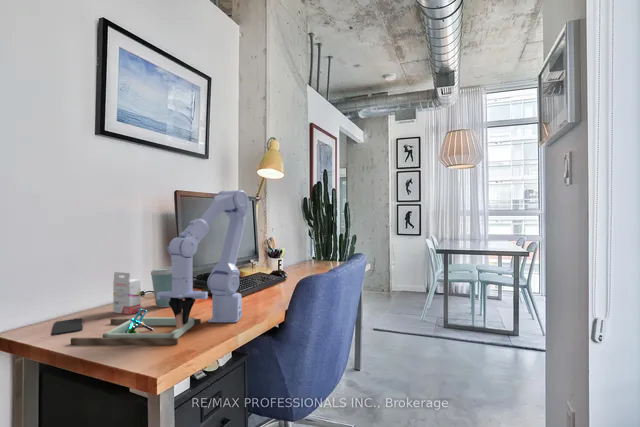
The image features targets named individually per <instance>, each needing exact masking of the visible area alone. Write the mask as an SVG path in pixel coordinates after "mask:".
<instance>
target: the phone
mask: <svg viewBox="0 0 640 427" xmlns="http://www.w3.org/2000/svg"><path fill="white" fill-rule="evenodd" d="M83 328H84V326H83V318H82V317H80V318H79V317H78V318H71V319H64V320H57V321H55V322H54V325H53V329H52V333H51V334H52V335H53V336H58V335H59V336H60V335H66V334H72V333H73V334H74V333H78V332H81V331H83Z"/></svg>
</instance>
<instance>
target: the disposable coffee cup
mask: <svg viewBox="0 0 640 427" xmlns="http://www.w3.org/2000/svg"><path fill="white" fill-rule="evenodd" d="M150 276H151V281H152V289H153V294H154V301H155V305H156V307H157V308H171V307H170V305H169V301H170V299H157V293H158V292H165V291H172V265H171V266H163V267H157V268H154V269H152V270H151V271H150Z"/></svg>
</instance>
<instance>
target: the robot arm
mask: <svg viewBox="0 0 640 427" xmlns="http://www.w3.org/2000/svg"><path fill="white" fill-rule="evenodd" d="M213 199H214V200H213V202H212V203H210V205H209V207H208V208H207V210H205V212H204V213H203V214H202V216H201V217H200V218H194V219H193V220H190V222H189V225H188V226H187V227H186V228H185V229H184V230H183V231H181V232H180V233H179V236H178V237H173V239H172V240H171V241H170V242H169V245H168V246H167V247H166V248H167V252H168V254H169V255H170V261H171V266H172V291H165V292H158V293H157V299H170V301H169V305H170V307H169V308H171V310H172V313H173V315H174V318H176V315H178V314H179V313H181V312H182V311H183V324H186V323H188V319H189V318H190V314H191V310H192V308H193V306H194V304H195V301H196V300H205V301H206V300H207V299H208V295H209V292H208V291H200V290H193V288H194V287H193V286H194V282H193V279H194V278H193V277H194V276H193V272H194V271H193V268H194V267H193V266H194V265H193V264H194V263H193V262H194V259H193V258H194V255H195V254H196V253H197V251H198V246H199V243H200V242H201V241H202V240H203V239H204V238H205V236H206V235H207V234H208V233H209V231H210V225H211V224H212V223H213V222H214V221H215V220H216V219H217V218H218V217H219V216H220V215H221V214H222V213H223V212H224V214H225V215H226V216H228V218H229V222H228V227H227V229H226V234H225V239H224V243H223V246H222V250H221V255H220V257H219V258H220V259H219V262H218V263H217V264H215V266H213V267H212V270H211V273H210V274H209V276H208V278H207V283H206V284H207V288H208V289H209V290H210V293H211V294H212V299H211V300H212V303H211V304H212V305H211V306H212V307H211V308H212V310H211V311H212V312H211V313H212V315H211V316H212V317H210V319H208V321H207V322H208V323H238V321H239V320H240V319H241V318H242V316H243V312H242V311H243V310H242V309H243V297H242V294H241V293H239V292H237V290H238V289H239V286H240V275H241V271H240V270H239V269H238V268H237V266H236V264H237V261H238V257H239V252H240V248H241V247H240V246H241V242H242V238H243V234H244V231H245V230H244V229H245V226H246V221H247V217H248V216H247V211H248V208H249V204H250V199H249V196H248V195H247V192H246V191H245V190H243V189H238V190H220V191H219V192H218V193H217V194H216V195H215V196H214V198H213Z"/></svg>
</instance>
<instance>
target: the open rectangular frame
mask: <svg viewBox="0 0 640 427" xmlns="http://www.w3.org/2000/svg"><path fill="white" fill-rule="evenodd" d="M140 317H141V316H140ZM140 317H139V316H138V317H137V318H136V320H137V321H139V319H140ZM134 318H135V316H134V317H133V318H132V319H134ZM194 319H195V317H189V319H188V323H186V324H183V310H182V312H181V313H179V314H178V315H176V318H175V317H153V316H152V317H145V316H144V317H143V318H142V320H141V322H143V323H144V324H145V325H147V326H175V329H174V330H172V331H171V332H169V333H164V332H163V333H162V332H161V333H159V332H157V333H153V332H152V333H151V332H150V333H149V332H147V333H146V332H144V333H142V332H139V333H124V332H125V331H126V330H127V328H128V327H129V325H130V324H131V322H132V321H130V320H129V321H127V322H125V323H123V324H118V325H117V326H116V327H113V328H112V329H110V330H108V331H106V332H105V333H102V338H178V339H179V338H180V337H181V336H182V335H183V334H185V333H186V332H187V331H188V330H190V329H191V328H192V327H193V326H195V325H194ZM135 324H136V323H133V325H135ZM133 325H132V326H133ZM132 326H131V327H132ZM128 330H129V329H128Z"/></svg>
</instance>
